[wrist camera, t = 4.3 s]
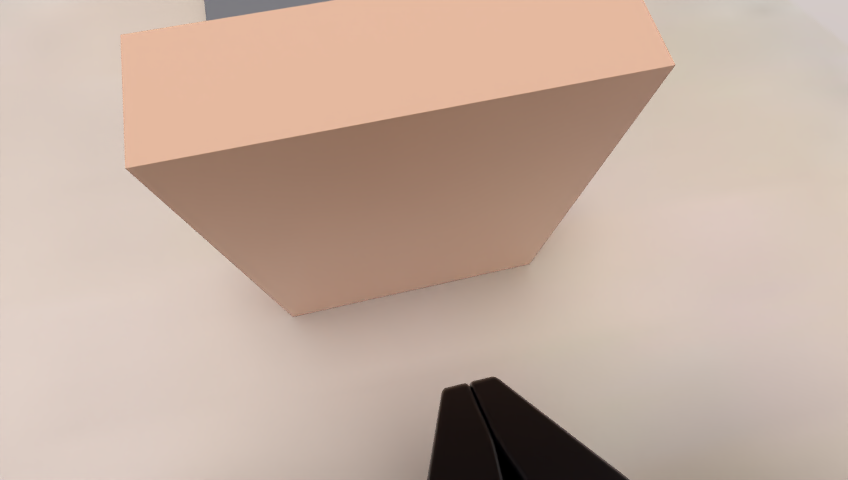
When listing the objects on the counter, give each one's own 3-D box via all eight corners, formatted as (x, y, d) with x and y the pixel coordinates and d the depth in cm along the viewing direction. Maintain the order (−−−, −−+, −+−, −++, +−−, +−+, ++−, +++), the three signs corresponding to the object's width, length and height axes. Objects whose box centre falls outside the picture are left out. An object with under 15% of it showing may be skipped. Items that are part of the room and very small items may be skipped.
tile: (529, 263, 17) (675, 64, 7) (292, 316, 16) (125, 167, 7) (507, 198, 18) (615, -55, 8) (282, 245, 17) (119, 24, 8)
